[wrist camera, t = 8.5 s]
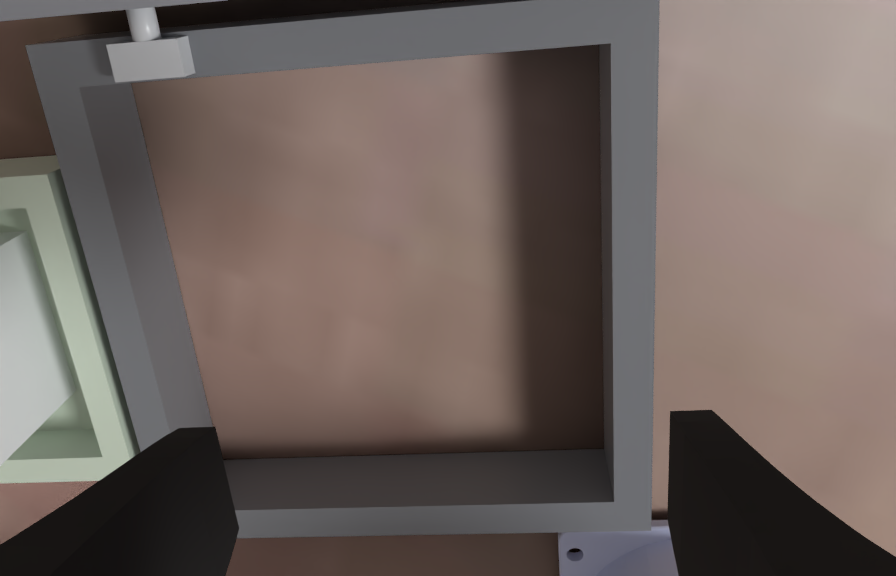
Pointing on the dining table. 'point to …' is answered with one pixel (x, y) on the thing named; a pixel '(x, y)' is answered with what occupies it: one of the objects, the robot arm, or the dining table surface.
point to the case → (160, 301)
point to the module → (27, 347)
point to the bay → (66, 337)
